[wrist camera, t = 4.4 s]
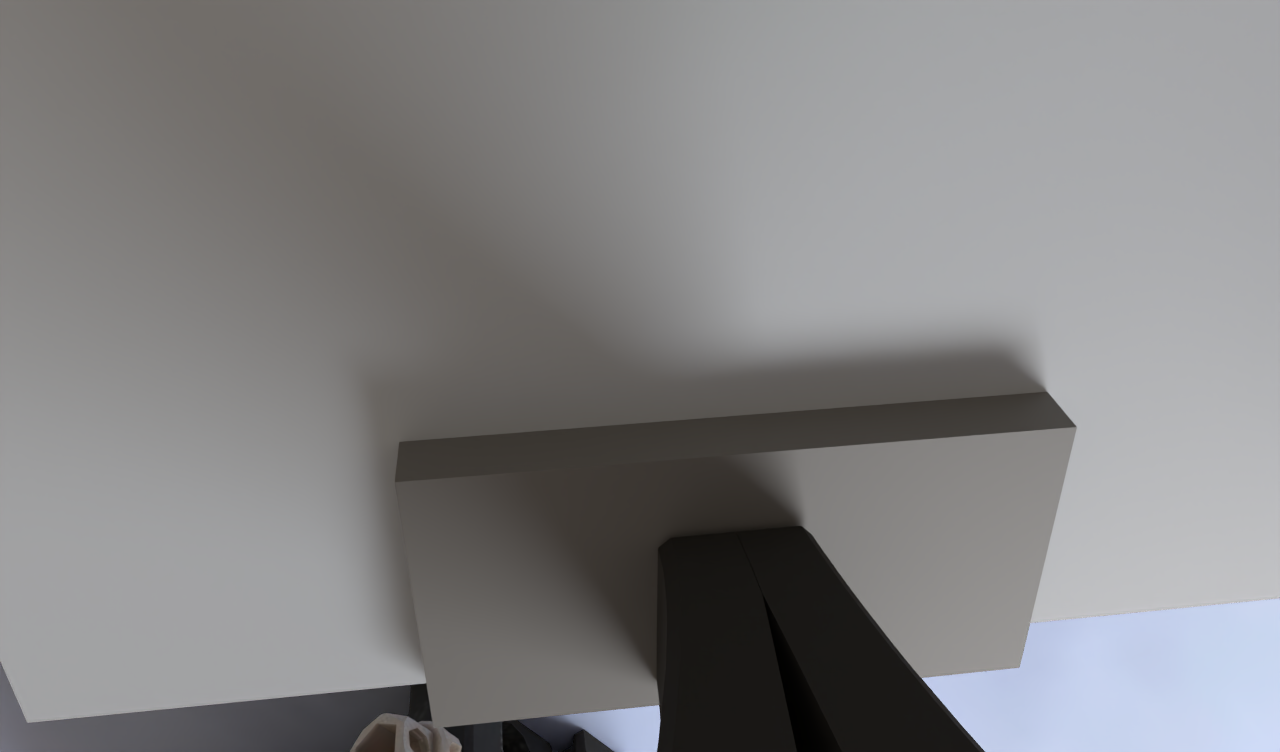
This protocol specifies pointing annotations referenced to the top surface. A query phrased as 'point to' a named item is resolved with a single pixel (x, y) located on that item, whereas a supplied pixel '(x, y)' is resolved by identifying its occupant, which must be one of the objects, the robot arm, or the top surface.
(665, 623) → the robot arm
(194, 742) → the top surface
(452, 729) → the scope
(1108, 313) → the level plate
